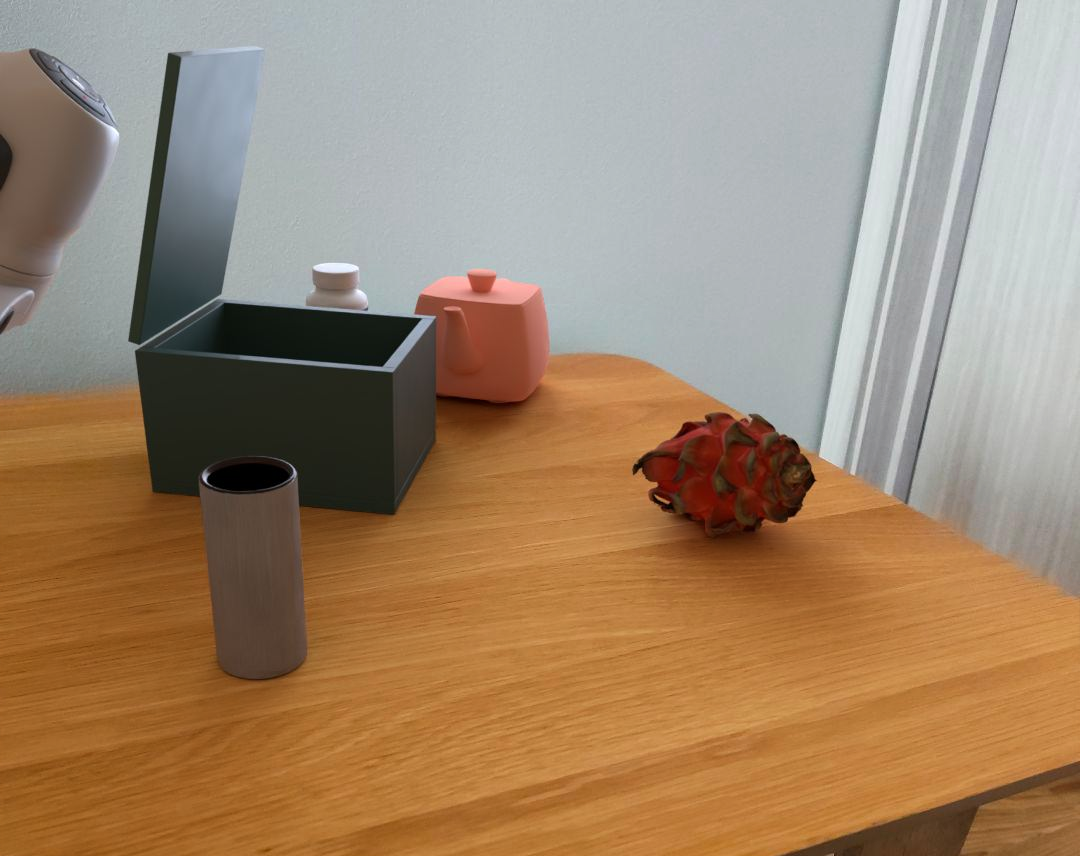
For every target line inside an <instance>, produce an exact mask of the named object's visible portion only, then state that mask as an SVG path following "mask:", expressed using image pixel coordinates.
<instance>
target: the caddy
mask: <svg viewBox="0 0 1080 856" xmlns="http://www.w3.org/2000/svg"><path fill="white" fill-rule="evenodd" d="M134 356H135V364H136V370H137V372H136V373H137V380H138V387H139V396H140V403H141V411H142V412H141V413H142V418H143V427H144V435H145V444H146V451H147V459H148V466H149V468H148V469H149V476H150V481H151V491H152V492H153V493H159V494H160V493H161V494H172V495H173V494H174V495H183V496H194V497H200V489H199V475H200V473H201V472H202V471H203V470H204V469H205V468H206V467H208V466H210V465H211V464H213V463H216V462H219V461H222V460H225V459H230V458H235V457H244V456H263V457H271V458H276V459H280V460H283V461H285V462H287V463H289V464H291V465H292V466H293V467H294V468H295V470H296V472H297V480H298V497H299V507H300V506H301V507H307V508H308V507H309V508H321V509H330V510H342V511H350V512H351V511H352V512H362V513H363V512H364V513H373V514H383V515H396V513H397V511H398V509H399V508H400V506H401V504H402V502H403V501H404V499H405V496H406V495H407V494H408V492H409V490H410V488H411V486H412V484H413V483H414V480H415V479H416V477H417V475H418V473H419V471H420V469H421V468H422V466H423V464H424V463H425V461H426V460H427V457H428V455H429V453H430V452H431V450H432V448H433V446H434V445H435V443H436V440H437V395H436V316H427V315H414V313H412V314H411V313H401V312H387V311H376V310H375V311H374V310H368V311H364V310H351V309H338V308H326V307H313V306H306V305H299V304H286V303H275V302H262V301H261V302H260V301H249V300H235V299H222V298H216V299H215V300H212V301H211V302H209V303H208V304H207V305H205V306H204V307H201V309H199V310H197V311H195V312H193V314H191V315H189V316H188V317H185V318H184V319H183V320H182V321H180V322H178V323H176V324H175V325H174V326H172V327H170V328H168V329H166V331H164V332H163V333H160V334H158V336H156V337H155V338H153V339H152V340H150V341H149V342H147V343H145V344H142V345H141V346H139V348H137V349H135V350H134Z"/></svg>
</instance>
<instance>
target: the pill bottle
mask: <svg viewBox="0 0 1080 856" xmlns="http://www.w3.org/2000/svg"><path fill="white" fill-rule="evenodd" d="M360 277H361V276H360V267H359V266H357V265H355V264H352V263H346V262H325V263H318V264H315V265H313V266H312V285H313V286H315V289H313V290H311V291H309V292H308V293H307V295H306V298H305V306H313V307H326V308H338V309H351V310H364V311H369V300H368V296H367V294H365V292H363V291H362V290H360V289H358V286H359V285H360V282H361V278H360Z"/></svg>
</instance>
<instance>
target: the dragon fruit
mask: <svg viewBox="0 0 1080 856" xmlns="http://www.w3.org/2000/svg"><path fill="white" fill-rule="evenodd" d="M748 417H749V418H751V420H750V421H749V420H748V418H746V417H743V418H741V419H739V420H738V419H736V418H734V416H733V415H731V414H730V413H728V412H722V411H721V412H720V411H719V412H709V413H707V414H705V415H704V420H705V421H704V420H701V421H699V420H696V421H685V422H684V423H682V425H681V428H680V429H679V430H678V431H677V433H676V434H675V435H674V436H672V437H670V438H669V439H667V440H664V441H662V442H660V443H659V444H658V445H657V446H656V447H655V448H654V449H651V450H649V451H647V452H646V453H644V454H643V455H642V456H641V457H640V458H639V459H637V461H636V463H633V466H632V476H634V475H636V474H637V473H638V472H639V470H640V469H641V472H642V475H644V476H645V477H644V479H645V480H647V482H650V483H657V487H653V488H649V490H648V492H647V493H648V494H647V495H648V499H649V501H650V502H652V503H653V505H655V506H656V507H658V508H660V510H661V511H662V512H665V513H668V514H674V516H677V515H679V514H683V515H684V516H685V517H686V518H687V519H689V520H692V521H697V522H699V521H705V523H704V532H705V534H706V535H707V536H709V537H711V538H712V537H715V536H718V535H721V534H725V533H729V532H730V531H731V530H732V528H733V527H736V528H737V529H738V531H739V532H740V533H741V534H751V533H752V534H753V533H755V532H756V531H759V530H760V529H761V527H762V525H763V521H765V520H766V521H769V522H772V523H773V524H784V523H788V520H789V519H790V518H795V517H796V516H797V514H798V513H799V512H800V511H801V510H802V508H803V507H804V504H803V502H804V499H805V497H806V495H807V493H808V492H809V491H810V490H811V489H812V487H813V486H814V484H815V483H816V482H817V481H818V480H817V479H816V477H815V474H814V472H813V470H812V464H811V462H810V460H809V459H808V458H807V457H806V455H805V454H804V453H801V448H800V445H799V444H798V442H797V441H796V440H795V439H794V438H793V437H790V436H788V435H786V434H785V433H783V434H780V433H779V431H777V430H776V427H775V426H774V425H773V424H772V423H771V422H769V421H768V420H767V419H765V418H764V417H763V416H762V415H760V414H758V413H748ZM634 477H635V478H636V476H634ZM636 479H637V478H636ZM657 497H658V498H660V499H663V500H665V501H667V502H669V503H666V502H664V501H662V500H660V499H658V498H657Z"/></svg>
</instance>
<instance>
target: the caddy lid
mask: <svg viewBox="0 0 1080 856" xmlns="http://www.w3.org/2000/svg"><path fill="white" fill-rule="evenodd" d="M265 52H266V50H265V48H263V47H260V46H256V45H249V46H247V45H246V46H237V47H224V48H211V49H198V50H197V49H196V50H183V51H173V52H172V51H171V52H168V53H167V58H166V64H165V73H164V79H163V86H162V87H163V88H162V93H161V101H160V108H159V115H158V121H157V130H156V138H155V144H154V150H153V151H154V152H153V159H152V166H151V171H150V172H151V173H150V178H149V179H150V181H149V187H148V195H147V200H146V201H147V202H146V209H145V217H144V224H143V231H142V238H141V246H140V252H139V260H138V267H137V274H136V281H135V288H134V295H133V303H132V309H131V317H130V324H129V331H128V338H127V341H128V342H129V343H130V344H131V343H132V344H135V345H137V346H142V345H143V344H144V343H146V342H147V341H149V340H150V339H152V338H153V337H155V336H157V335H159V334H161V333H162V332H163V331H164V330H167V329H169V328H170V327H171V326H173V325H174V324H177V323H179V321H181V320H182V319H185V318H187V316H190V314H192V313H195V312H196V310H197V311H198V309H200V308H203V306H206V304H209V303H211V302H212V301H214V299H217V298H219V296H221V295H222V294H223V287H224V284H225V283H224V282H225V277H226V271H227V265H228V261H229V260H228V259H229V255H230V249H231V243H232V238H233V232H234V226H235V221H236V215H237V209H238V205H239V204H238V203H239V197H240V192H241V186H242V181H243V177H244V175H243V174H244V171H245V164H246V158H247V153H248V147H249V141H250V137H251V130H252V125H253V121H254V120H253V119H254V113H255V109H256V103H257V97H258V91H259V85H260V81H261V74H262V69H263V63H264V57H265Z"/></svg>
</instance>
